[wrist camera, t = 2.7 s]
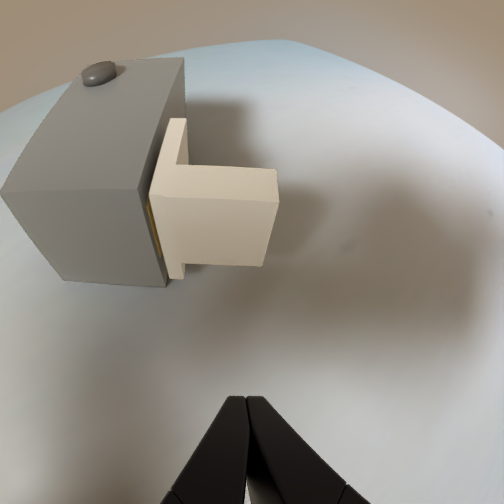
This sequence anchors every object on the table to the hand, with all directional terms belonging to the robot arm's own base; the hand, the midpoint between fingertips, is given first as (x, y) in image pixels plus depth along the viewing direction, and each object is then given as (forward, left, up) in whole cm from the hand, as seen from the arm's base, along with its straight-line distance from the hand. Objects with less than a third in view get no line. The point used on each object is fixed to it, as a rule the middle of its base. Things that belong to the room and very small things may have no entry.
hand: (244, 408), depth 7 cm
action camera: (+15, +1, -9) cm, 18 cm away
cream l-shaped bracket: (+9, -3, -8) cm, 12 cm away
